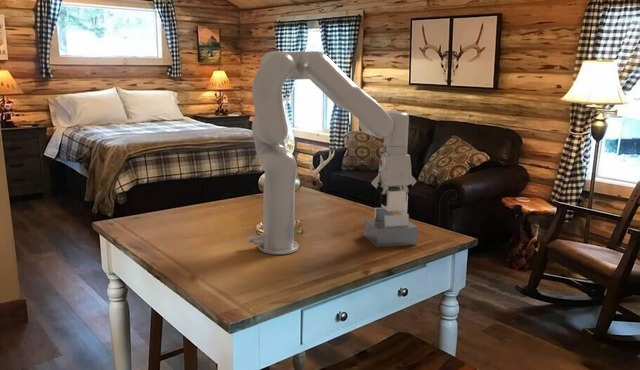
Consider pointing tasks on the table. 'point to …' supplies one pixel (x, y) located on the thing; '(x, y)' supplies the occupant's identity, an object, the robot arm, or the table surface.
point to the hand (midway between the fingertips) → (393, 203)
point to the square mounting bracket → (390, 229)
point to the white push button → (395, 199)
